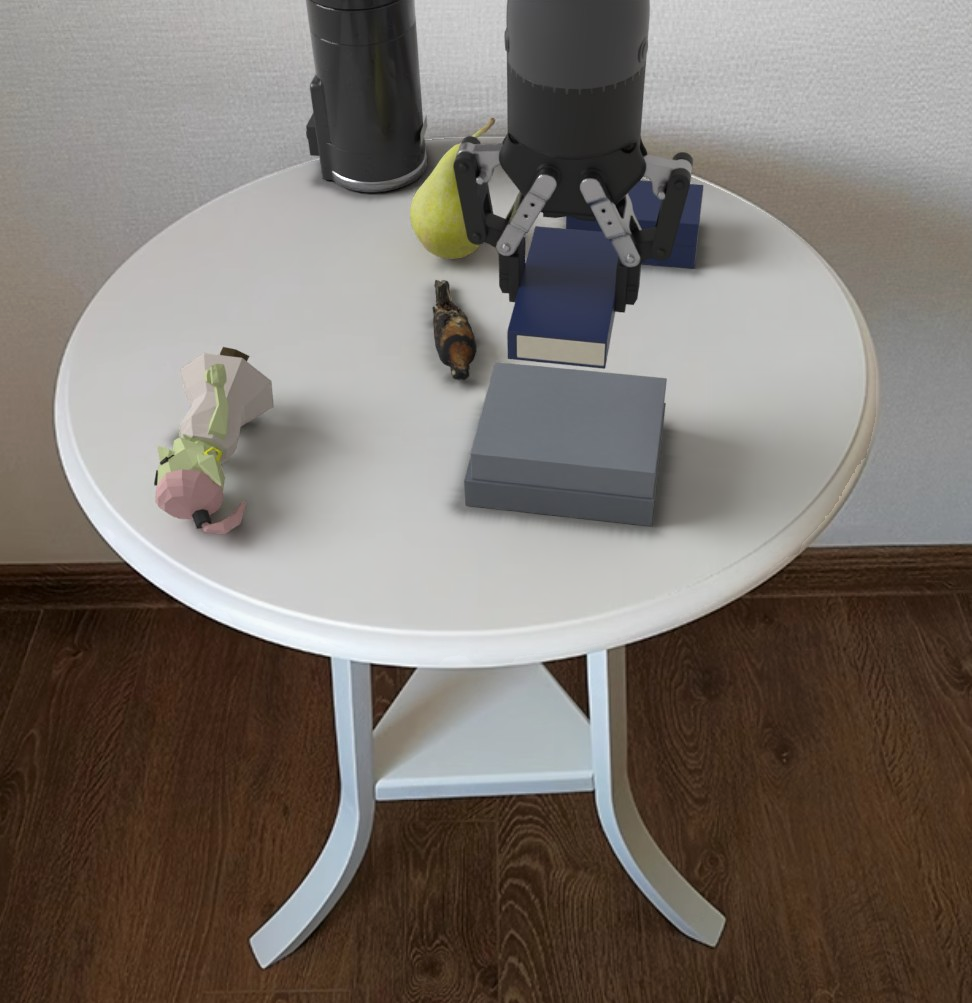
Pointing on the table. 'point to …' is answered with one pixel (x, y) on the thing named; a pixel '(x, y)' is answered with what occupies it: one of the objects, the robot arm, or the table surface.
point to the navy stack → (647, 214)
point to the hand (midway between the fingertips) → (568, 298)
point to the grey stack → (568, 444)
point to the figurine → (210, 436)
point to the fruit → (442, 209)
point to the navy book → (565, 299)
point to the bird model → (452, 333)
